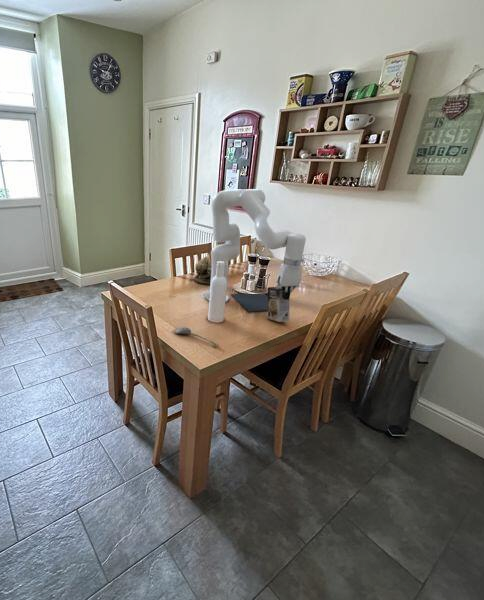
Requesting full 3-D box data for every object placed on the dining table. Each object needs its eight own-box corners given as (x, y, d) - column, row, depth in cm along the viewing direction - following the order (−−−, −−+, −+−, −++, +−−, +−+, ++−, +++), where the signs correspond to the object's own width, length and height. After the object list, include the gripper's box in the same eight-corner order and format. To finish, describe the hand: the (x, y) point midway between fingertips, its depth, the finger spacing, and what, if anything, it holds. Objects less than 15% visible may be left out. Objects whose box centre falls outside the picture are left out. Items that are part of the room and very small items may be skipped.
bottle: (205, 317, 167) (209, 260, 155) (218, 314, 170) (223, 258, 158) (212, 323, 160) (217, 265, 148) (226, 321, 163) (232, 263, 151)
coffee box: (267, 318, 166) (266, 287, 164) (278, 317, 168) (277, 286, 165) (278, 322, 157) (278, 289, 155) (290, 320, 159) (290, 287, 157)
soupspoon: (180, 329, 156) (172, 334, 152) (180, 323, 155) (171, 328, 150) (220, 343, 143) (212, 350, 138) (220, 337, 141) (212, 343, 137)
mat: (248, 312, 173) (248, 311, 173) (231, 295, 194) (231, 294, 194) (283, 309, 176) (283, 308, 176) (262, 293, 198) (262, 292, 198)
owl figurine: (221, 283, 213) (224, 257, 206) (210, 287, 206) (212, 261, 199) (200, 276, 225) (202, 252, 218) (189, 279, 218) (190, 255, 211)
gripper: (302, 258, 153) (295, 295, 160) (273, 260, 150) (267, 296, 157) (312, 263, 146) (304, 301, 153) (281, 264, 143) (275, 303, 151)
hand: (285, 298), depth 155 cm, fingers closed
